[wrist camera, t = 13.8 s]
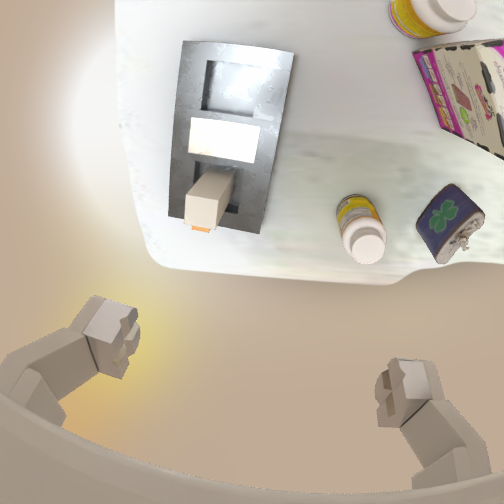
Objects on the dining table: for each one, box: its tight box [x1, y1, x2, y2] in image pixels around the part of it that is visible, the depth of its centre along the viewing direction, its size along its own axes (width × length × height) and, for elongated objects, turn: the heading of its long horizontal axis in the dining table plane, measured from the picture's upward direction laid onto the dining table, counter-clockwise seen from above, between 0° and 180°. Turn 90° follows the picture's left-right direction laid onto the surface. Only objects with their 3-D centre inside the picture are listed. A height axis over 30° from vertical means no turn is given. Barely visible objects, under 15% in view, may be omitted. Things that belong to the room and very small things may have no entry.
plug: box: [184, 167, 236, 233], centre depth 38 cm, size 4×4×10 cm
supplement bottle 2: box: [389, 0, 476, 39], centre depth 21 cm, size 7×7×13 cm
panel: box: [168, 41, 294, 234], centre depth 38 cm, size 24×13×3 cm, turn 171°
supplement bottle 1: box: [337, 195, 387, 264], centre depth 38 cm, size 6×6×10 cm
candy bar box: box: [412, 39, 504, 160], centre depth 24 cm, size 11×5×16 cm, turn 29°
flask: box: [416, 184, 485, 264], centre depth 35 cm, size 9×3×11 cm, turn 149°
